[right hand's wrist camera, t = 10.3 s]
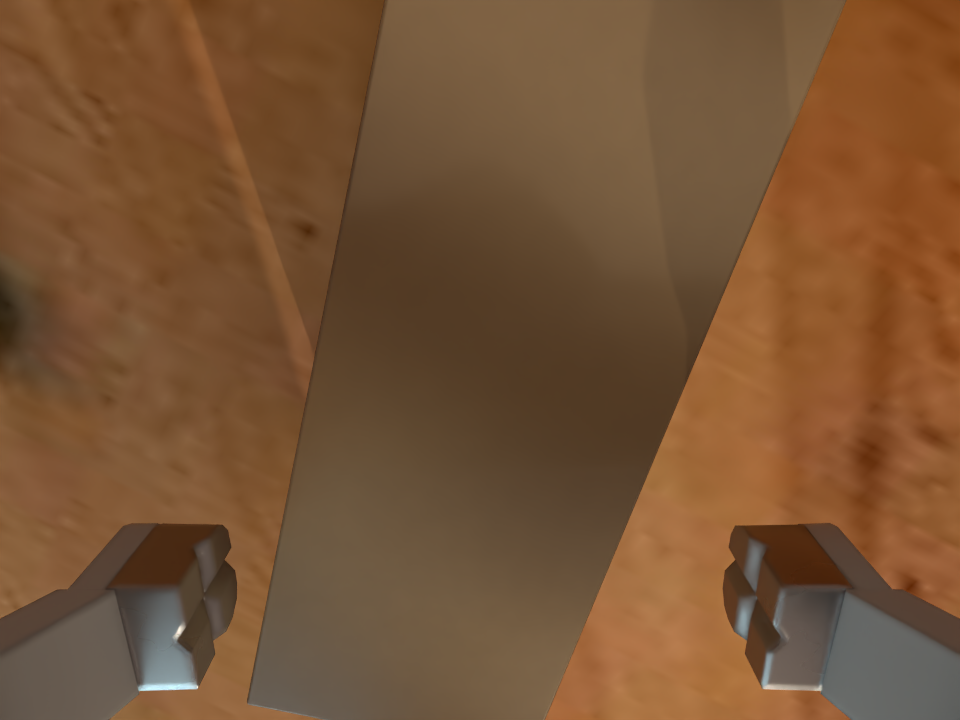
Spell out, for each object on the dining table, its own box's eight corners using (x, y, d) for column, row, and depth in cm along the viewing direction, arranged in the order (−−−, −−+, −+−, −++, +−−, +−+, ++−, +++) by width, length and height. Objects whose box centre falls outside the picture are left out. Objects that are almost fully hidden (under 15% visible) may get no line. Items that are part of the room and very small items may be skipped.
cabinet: (493, -198, 15) (512, -659, 6) (714, -123, 16) (1037, -446, 7) (346, 450, 21) (244, 705, 12) (508, 489, 22) (529, 762, 13)
